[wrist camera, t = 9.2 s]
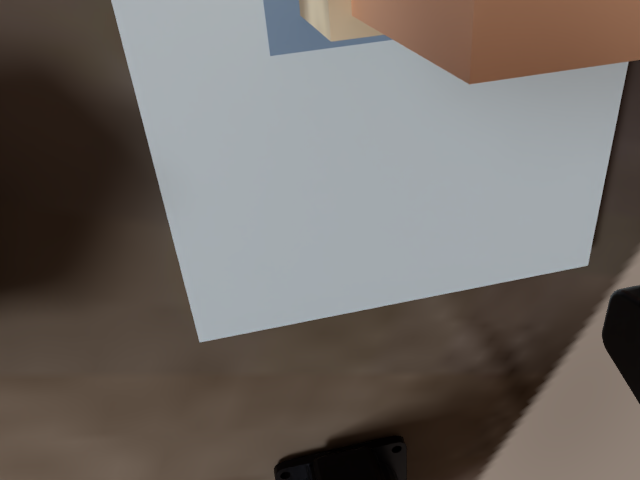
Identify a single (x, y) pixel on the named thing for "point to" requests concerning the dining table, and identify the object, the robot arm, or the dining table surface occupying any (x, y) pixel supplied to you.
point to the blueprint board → (354, 164)
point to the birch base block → (335, 19)
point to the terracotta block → (509, 33)
